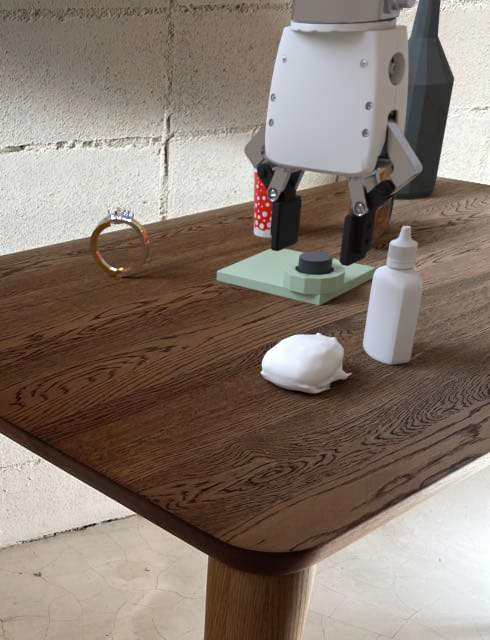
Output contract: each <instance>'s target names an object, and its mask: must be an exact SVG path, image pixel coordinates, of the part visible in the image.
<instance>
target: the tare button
mask: <svg viewBox="0 0 490 640" xmlns="http://www.w3.org/2000/svg"><path fill="white" fill-rule="evenodd" d="M333 259H334V256H333V255H332V254H331V253H328V252H324V251H306V252H303V253H302V254H301V255H300V256H299V264H298V272H299V273H303V274H308V275H323V274H329V273H331V269H332V261H333Z"/></svg>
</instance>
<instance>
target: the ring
mask: <svg viewBox="0 0 490 640" xmlns="http://www.w3.org/2000/svg"><path fill="white" fill-rule="evenodd" d="M134 217H135V212H131V210H130V209H129V210H128V209H127V208H123V209H122V210H121V207H120V206H119V207H118V206H117V207H116V210H114V211H113V213H112V212H111V209H107V215H106V216H104V218H102V219H101V220H100V221H99V222H98V223H97V225H96V226H95V228H94V230H93V231H92V233H91V235H90V239H89V246H90V252H91V255H92V258H93V259H94V261H95V263H96V264H97V266H98V267H99V268H100V269H101V270H102V271H103V272H105V273H106V274H108V275H111V276H113V277H115V278H117V279H123V277H129V276H132V275H134V274H135V273H137V272H138V271H139V270H140V269H141V268H142V267H143V266H144V264H145V263H146V261H147V258H148V256H149V251H150V239H149V235H148V232H147V230H146V228H145V227H144V226H143V225H142V223H141V222H139V221H138V220H137V219H135V218H134ZM123 224H125V225H127V226H130V227H131V228H132V229H133V230H134V231H135V232H136V234H137V236H138V239H139V241H140V246H141V250H140V251H141V252H140V257H139V260H138V262H137V263H136V264H135V265H134V266H133V267H131V268H127V269H125V268H124V267H118V268H115V267H112V266H110V264H108V263H107V261H105V260H104V258H103V256H102V254H101V252H100V249H99V237H100V235H101V234H102V232H103V231H105V230H106V229H108V228H110V227H111V226H112V225H123Z"/></svg>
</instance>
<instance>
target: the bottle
mask: <svg viewBox="0 0 490 640" xmlns="http://www.w3.org/2000/svg"><path fill="white" fill-rule="evenodd" d="M440 15H441V0H418V3H417V8H416V12H415V16H414V21H413V24H412V27H411V33H410V36H409V37H408V68H409V69H408V95H407V109H406V120H405V130H404V137H405V138H406V140H407V141H408V143H409V145H410V146H411V148H412V149H413V151H414V153H415V154H416V156H417V157H418V159H419V161H420V162H421V164H422V172H421V173H420V174H419V175H418V176H416V177H415V178H414V179H413V180H411V181H410V182H409V183H408V184H407V185H405V186H404V187H402V188H401V189H400V190H399V191H398V192H397V193H396V194H395V197H394V200H412V199H420V198H426V197H429V196H430V195H431V194H432V193H433V192H434V190H435V188H436V183H437V178H438V172H439V168H440V161H441V156H442V150H443V145H444V139H445V133H446V127H447V122H448V115H449V111H450V105H451V99H452V95H453V94H452V93H453V89H454V84H455V77H454V74H453V71H452V69H451V66H450V63H449V61H448V58H447V56H446V53H445V51H444V48H443V45H442V42H441V40H440V37H439V29H440V27H439V26H440Z"/></svg>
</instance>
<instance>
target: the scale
mask: <svg viewBox="0 0 490 640" xmlns="http://www.w3.org/2000/svg"><path fill="white" fill-rule="evenodd" d="M302 253H304V252H302V251H298V250H293V249H288V248H284V249H282V250H280V251H273V250H271V248H268V249H266V250H264V251H261V252H259V253H257V254H254V255H251V256H250V257H249V256H248V257H247V258H244V259H242V260H240V261H237V262H235V263H233V264H230V265H228V266H225V267H223V268H220V269H218V270H217V271H216V281H217V282H222V283H226V284H230V285H234V286H238V287H242V288H246V289H250V290H254V291H259V292H263V293H267V294H271V295H274V296H279V297H283V298H287V299H291V300H295V301H299V302H303V303H307V304H311V305H315V306H321V305H323V304H325V303H328V302H329V301H331V300H333V299H335V298H337V297H339V296H341V295H343V294H344V293H346V292H348V291H351V290H352V289H355V288H356V287H359V286H361V285H362V284H364V283H366V282H368V281H371V280H373V276H374V273H375V271H376V270H377V267H375V266H371V265H365V264H360V263H357V262H355V263H353V264H351V265H349V266H345V265H341V263H340V261H339V260H340V259H336V258H333V261H332V269H331V273H329V274H323V275H308V274H303V273H299V272H298V264H299V256H300V255H301V254H302Z"/></svg>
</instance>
